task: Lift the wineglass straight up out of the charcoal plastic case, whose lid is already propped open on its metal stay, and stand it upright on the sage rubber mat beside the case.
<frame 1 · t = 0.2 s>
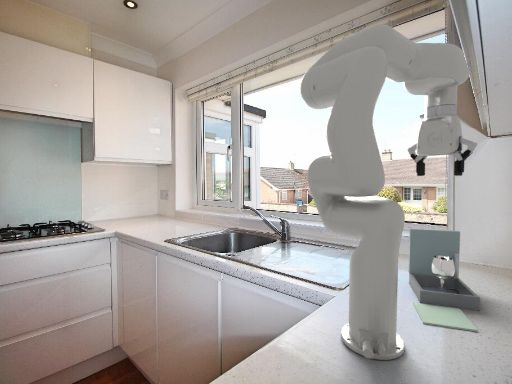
hand: (438, 175, 77), 36 cm above the table, tool pointing down, fingers open, 9 cm apart
wineglass: (441, 297, 81), resting in case
mat: (442, 316, 70), on the table
case: (440, 295, 82), on the table
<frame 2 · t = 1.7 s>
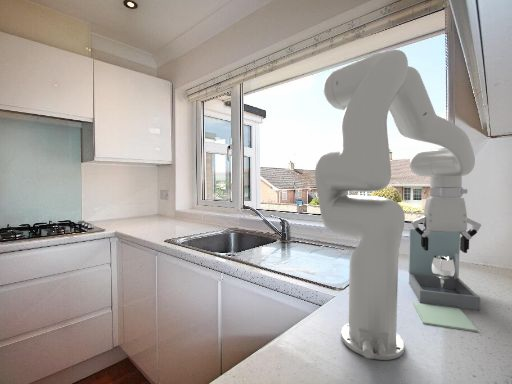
hand: (444, 250, 81), 14 cm above the table, tool pointing down, fingers open, 9 cm apart
nothing on the table moved.
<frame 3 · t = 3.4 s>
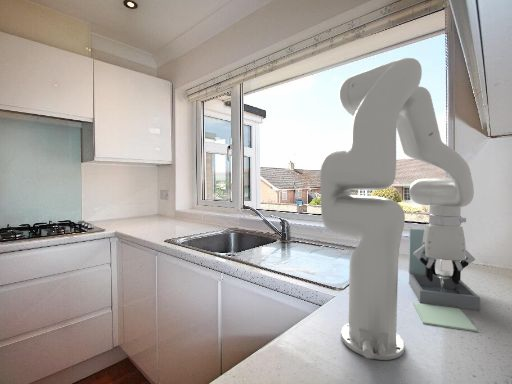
hand: (442, 280, 81), 5 cm above the table, tool pointing down, fingers closed on wineglass, 5 cm apart
wineglass: (441, 297, 81), resting in case, touching gripper
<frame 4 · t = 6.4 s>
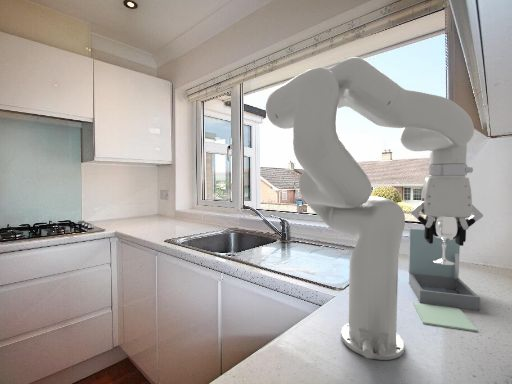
hand: (444, 242, 69), 19 cm above the table, tool pointing down, fingers closed on wineglass, 5 cm apart
wineglass: (443, 263, 69), point 14 cm above the table, touching gripper
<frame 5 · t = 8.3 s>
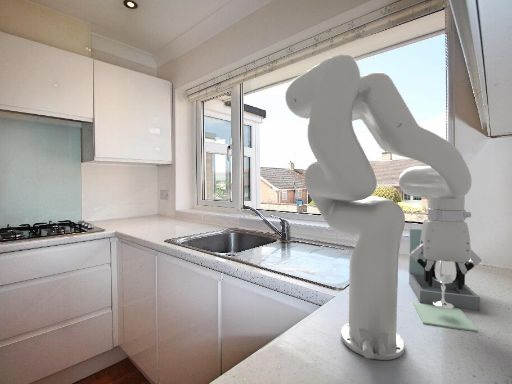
hand: (443, 285, 69), 8 cm above the table, tool pointing down, fingers closed on wineglass, 5 cm apart
wineglass: (442, 305, 70), point 3 cm above the table, touching gripper
when the fingers open (6 cm above the table, at t = 9.6 s): wineglass stays where it is, resting on mat.
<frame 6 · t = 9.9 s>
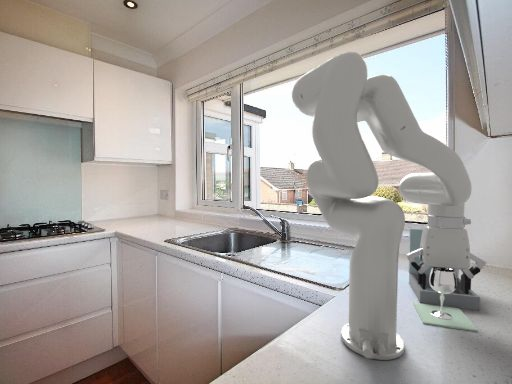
hand: (442, 289, 69), 7 cm above the table, tool pointing down, fingers open, 8 cm apart
wineglass: (441, 315, 70), resting on mat
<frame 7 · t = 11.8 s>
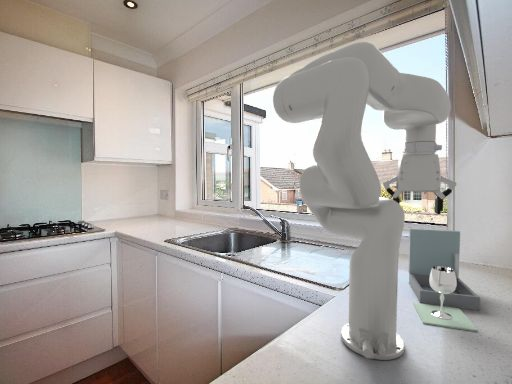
hand: (416, 212, 74), 26 cm above the table, tool pointing down, fingers open, 9 cm apart
nothing on the table moved.
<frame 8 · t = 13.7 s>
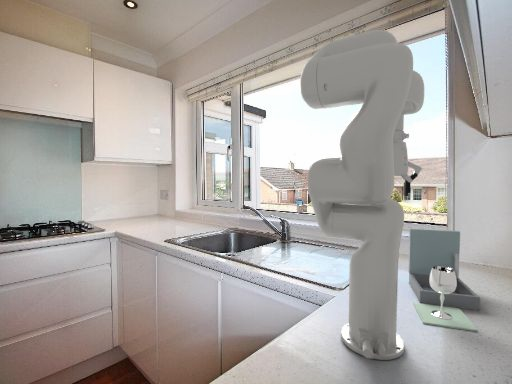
hand: (387, 195, 82), 30 cm above the table, tool pointing down, fingers open, 9 cm apart
nothing on the table moved.
at the end: wineglass inside the target area on the mat (0.2 cm from its centre), point 0.2 cm above the mat's base; wineglass tilted 0°; the gripper is holding nothing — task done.
